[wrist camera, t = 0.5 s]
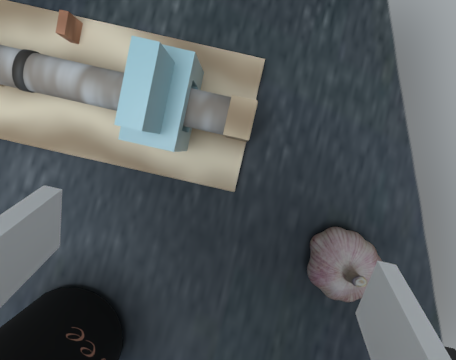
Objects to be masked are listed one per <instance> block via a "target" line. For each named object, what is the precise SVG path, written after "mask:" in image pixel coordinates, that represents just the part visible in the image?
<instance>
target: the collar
mask: <svg viewBox="0 0 456 360" xmlns="http://www.w3.org/2000/svg"><path fill="white" fill-rule="evenodd" d="M203 75H204V71H203V69H202V67H201V64H200V62H199V60H198V57H197V55H196V53H195V52H194V51H189V50H185V49H180V48H176V47H171V46H167V45H163V44H161V43H160V42H158V41H154V40H150V39H145V38H141V37H136V36H131V41H130V46H129V52H128V57H127V62H126V67H125V72H124V77H123V82H122V87H121V92H120V98H119V103H118V108H117V113H116V118H115V123H114V125H117V126H121V128H120V133H119V138H118V139H119V140H123V141H128V142H132V143H136V144H141V145H145V146H150V147H154V148H158V149H163V150H167V151H172V152H181V151H187V149H188V144H189V140H190V135H191V131H192V128H190V127H186V126H183V123H184V119H185V114H186V109H187V105H188V100H189V95H190V91H191V88H193V89H198V90H200V89H201V84H202V80H203Z"/></svg>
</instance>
